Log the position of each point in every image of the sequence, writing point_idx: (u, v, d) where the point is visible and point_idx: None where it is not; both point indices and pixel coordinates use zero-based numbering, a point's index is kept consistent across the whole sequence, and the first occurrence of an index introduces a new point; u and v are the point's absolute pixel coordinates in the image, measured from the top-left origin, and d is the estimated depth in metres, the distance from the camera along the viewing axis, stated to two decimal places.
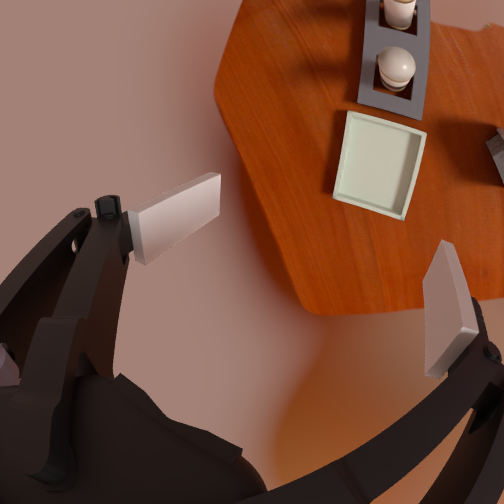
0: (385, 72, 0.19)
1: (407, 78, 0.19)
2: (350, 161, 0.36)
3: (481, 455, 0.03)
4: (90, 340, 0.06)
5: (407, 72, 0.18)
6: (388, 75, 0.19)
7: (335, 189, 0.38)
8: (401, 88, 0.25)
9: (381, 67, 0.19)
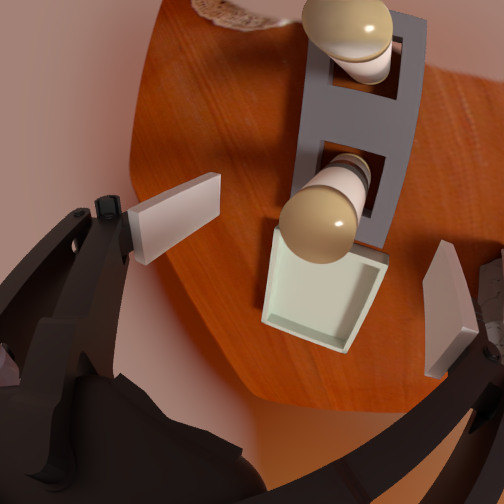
0: (291, 246, 0.14)
1: (333, 259, 0.13)
2: (283, 283, 0.31)
3: (481, 455, 0.03)
4: (90, 340, 0.06)
5: (335, 248, 0.13)
6: (296, 252, 0.14)
7: (263, 314, 0.32)
8: None
9: (284, 236, 0.14)
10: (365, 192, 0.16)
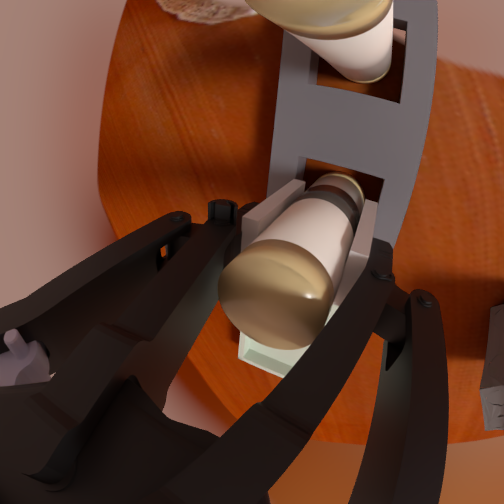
0: (237, 324, 0.10)
1: (294, 346, 0.09)
2: None
3: (404, 390, 0.05)
4: (148, 363, 0.06)
5: (296, 335, 0.09)
6: (245, 331, 0.10)
7: (240, 351, 0.28)
8: None
9: (227, 310, 0.10)
10: (353, 234, 0.12)
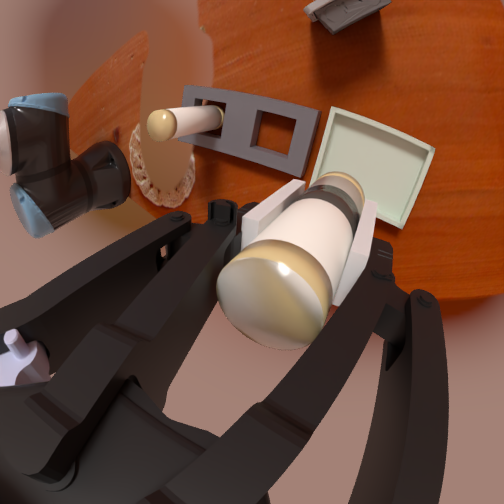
0: (236, 324, 0.10)
1: (293, 347, 0.09)
2: (366, 197, 0.32)
3: (404, 390, 0.05)
4: (148, 363, 0.06)
5: (294, 335, 0.09)
6: (244, 331, 0.10)
7: (392, 223, 0.31)
8: None
9: (226, 310, 0.10)
10: (352, 234, 0.12)
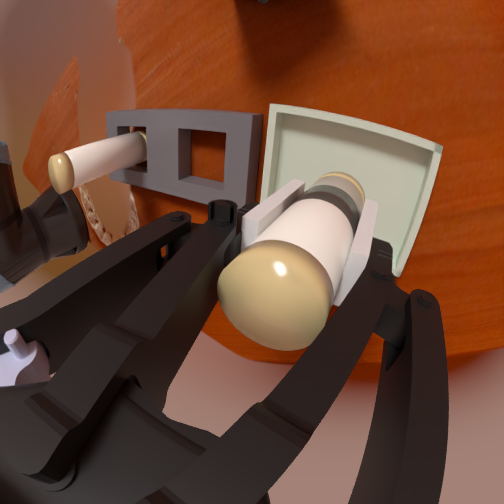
0: (236, 324, 0.10)
1: (294, 347, 0.09)
2: None
3: (404, 390, 0.05)
4: (148, 363, 0.06)
5: (295, 335, 0.09)
6: (244, 331, 0.10)
7: None
8: None
9: (227, 311, 0.10)
10: (353, 234, 0.12)
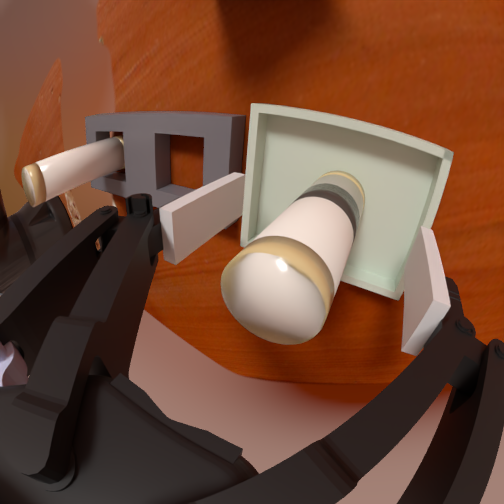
0: (239, 319, 0.10)
1: (296, 341, 0.09)
2: None
3: (464, 434, 0.04)
4: (107, 344, 0.06)
5: (297, 329, 0.09)
6: (247, 326, 0.10)
7: (382, 292, 0.18)
8: None
9: (230, 305, 0.10)
10: (353, 231, 0.12)
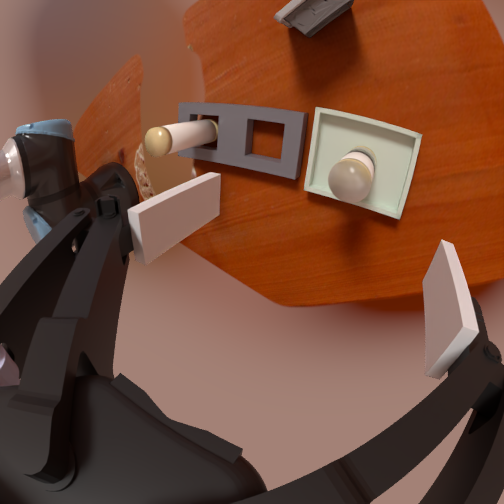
0: (334, 192, 0.23)
1: (359, 199, 0.22)
2: None
3: (481, 455, 0.03)
4: (90, 340, 0.06)
5: (360, 192, 0.22)
6: (338, 196, 0.23)
7: (389, 214, 0.31)
8: None
9: (331, 186, 0.23)
10: (374, 168, 0.25)
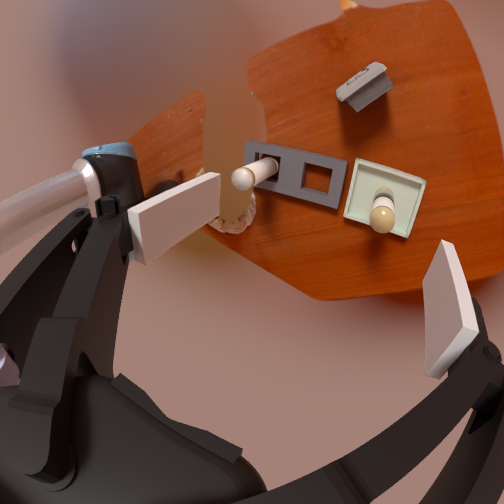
0: (373, 227, 0.37)
1: (387, 231, 0.36)
2: None
3: (481, 455, 0.03)
4: (90, 340, 0.06)
5: (388, 227, 0.36)
6: (374, 229, 0.37)
7: (401, 234, 0.45)
8: None
9: (371, 223, 0.37)
10: (394, 207, 0.39)
